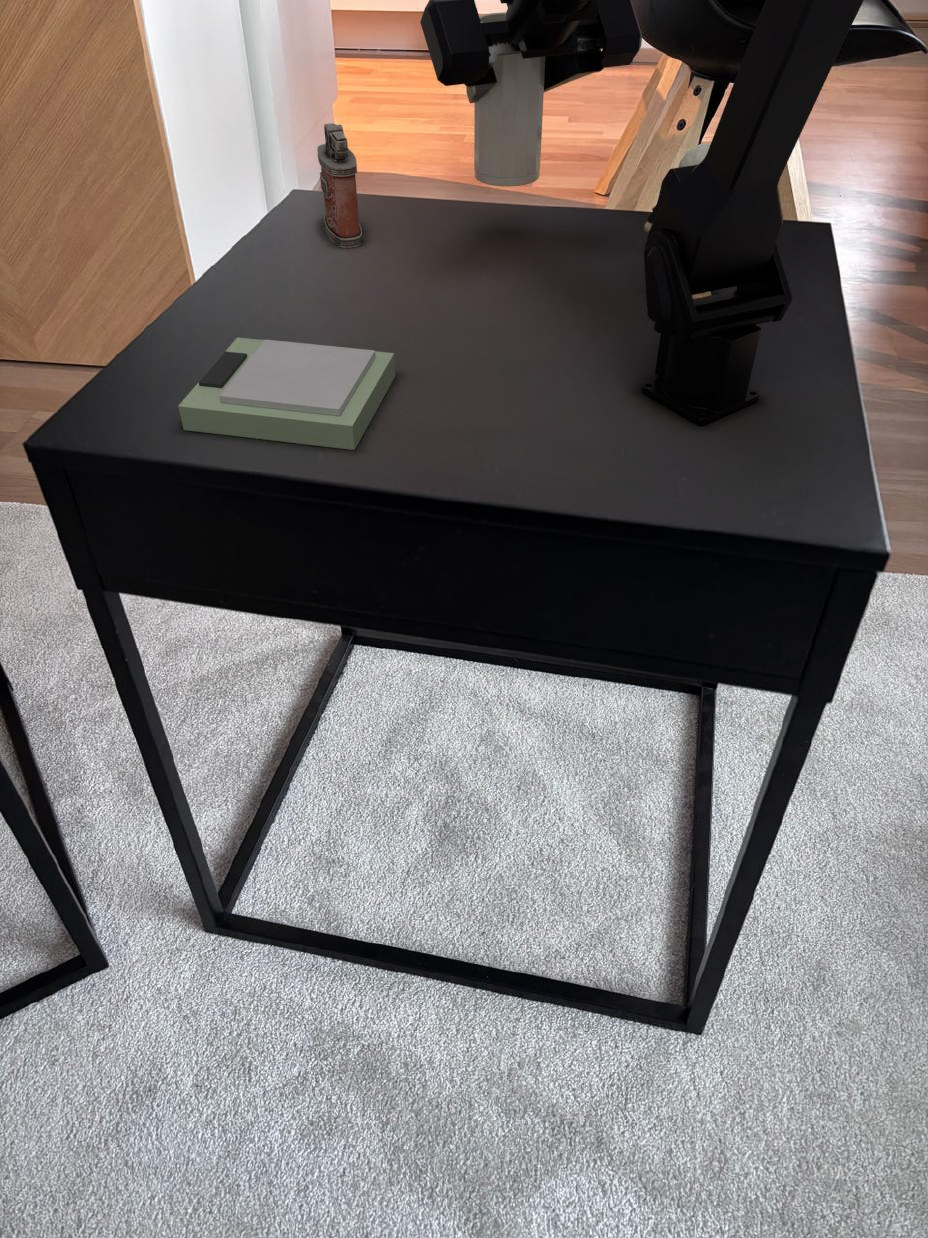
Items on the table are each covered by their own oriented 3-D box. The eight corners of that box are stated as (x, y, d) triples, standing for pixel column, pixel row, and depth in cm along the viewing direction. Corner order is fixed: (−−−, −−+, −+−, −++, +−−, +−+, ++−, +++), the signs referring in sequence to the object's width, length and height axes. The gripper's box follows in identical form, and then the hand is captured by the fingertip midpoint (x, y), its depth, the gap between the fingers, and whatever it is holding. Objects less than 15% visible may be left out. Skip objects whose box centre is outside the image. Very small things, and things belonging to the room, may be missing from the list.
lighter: (319, 221, 99) (308, 116, 92) (351, 217, 100) (342, 113, 93) (335, 249, 94) (324, 140, 87) (368, 245, 94) (360, 137, 88)
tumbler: (552, 175, 91) (561, 18, 82) (507, 191, 88) (511, 29, 79) (506, 161, 94) (510, 8, 86) (460, 175, 91) (459, 18, 82)
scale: (395, 376, 74) (393, 345, 73) (354, 450, 66) (351, 417, 65) (241, 360, 76) (235, 329, 75) (183, 430, 69) (176, 398, 67)
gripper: (641, -137, 75) (566, 3, 90) (424, -127, 70) (383, 19, 85) (681, -4, 75) (599, 114, 90) (467, 16, 70) (418, 138, 85)
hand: (502, 93), depth 87 cm, fingers closed on tumbler, 6 cm apart
